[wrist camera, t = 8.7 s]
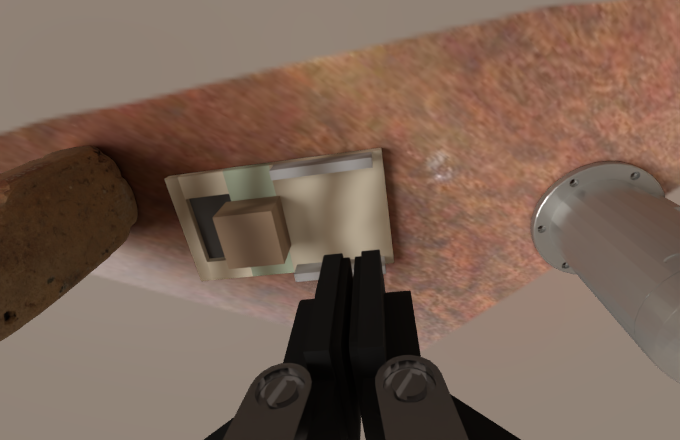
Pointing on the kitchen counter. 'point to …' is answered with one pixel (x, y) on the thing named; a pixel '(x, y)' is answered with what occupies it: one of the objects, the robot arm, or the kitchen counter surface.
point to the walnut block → (253, 232)
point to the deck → (291, 210)
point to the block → (57, 228)
